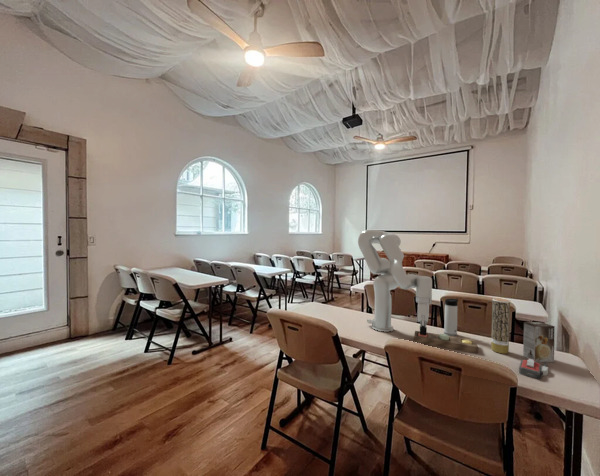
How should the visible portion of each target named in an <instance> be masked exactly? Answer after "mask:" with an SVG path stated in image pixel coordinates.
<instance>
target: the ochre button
mask: <svg viewBox="0 0 600 476" xmlns="http://www.w3.org/2000/svg"><path fill="white" fill-rule="evenodd" d="M462 343H466V344H472V342H471V341H469V340H462Z"/></svg>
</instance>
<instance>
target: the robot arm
mask: <svg viewBox="0 0 600 476" xmlns="http://www.w3.org/2000/svg"><path fill="white" fill-rule="evenodd" d="M357 244H358V247H359V250H360V252H361V254H362V255H363V258H364V260H365V264H366V266H367V267H368V270H369V271H370V273H371V274H373V275H378V276H376V277H375V278H374V281H373V290H374V315H373V316H374V319H373V318H372V319H369V318H367V319H366V323H368V324H370V325H371V328H372V330H374V329H375V330H374V331H377V330H378V331H377V332H381V331H384V332H383V333H390V332H389V331H391V332H393V331H394V330H395V327H394V326H392V295H391V291H392V290H395V289H397V288H398V287H399V288H401V289H403V290H409V289H414V288H415V302H416V303H417V318H416V319H417V323H420V326H419V331H420V335H426V334H427V333H428V332H427V324H428V322H429V314H430V305H433V304H432V301H433V300H432V299H433V298H432V296H433V278H431V277H430V276H428V275H427V276H426V275H418V274H414V273H409V274H407V272H406V271H405V269H404V267H403V260H404V258H405V255H404V253H403V251H402V250H401V248H400V246H401V238H400V236H398V235H397V234H394V233H391V232H387V231H384V230H380V229H365V230H363V231H362V232H360V233H359V235H358V240H357ZM373 244H379V245H380V247H381V249H382V250H383V252H384V254H385V256H386V257H387V258H386V257H380V256H379V253H378V251H377V249H376V248H375V247H374V246H373Z"/></svg>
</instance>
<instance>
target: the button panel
mask: <svg viewBox="0 0 600 476" xmlns="http://www.w3.org/2000/svg"><path fill="white" fill-rule="evenodd" d="M418 333H420V330H415V331H414V335H413V342H414V341H415V342H419V343H418V344H420V343H423V344H422V345H428V346H432V347H440V348H445V349H451V350H454V351H455V350H457V351H461V350H462V351H461V352H468V353H475V354H478V353H479V347H478V343H477V341H476V339H471V338H465V337H457V336H449V341H448V340H441V339H439V334H440V333H439V334H438V333H431V332H427V337H423V336H418ZM462 340H469V341H471V342H472V344H466V343H462ZM415 342H414V343H415Z"/></svg>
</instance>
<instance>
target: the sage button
mask: <svg viewBox="0 0 600 476" xmlns="http://www.w3.org/2000/svg"><path fill="white" fill-rule="evenodd" d="M439 339H441V340H448V341H449V335H446V334H445V333H439Z"/></svg>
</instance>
